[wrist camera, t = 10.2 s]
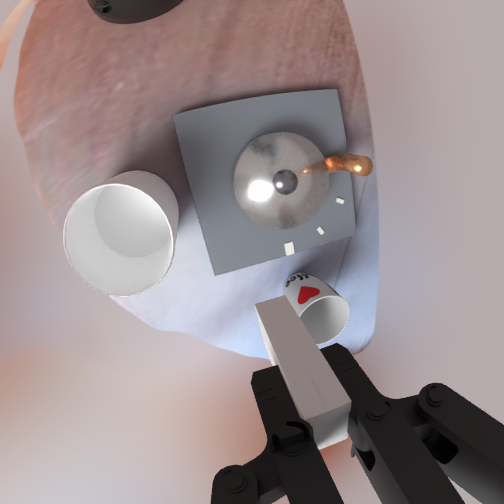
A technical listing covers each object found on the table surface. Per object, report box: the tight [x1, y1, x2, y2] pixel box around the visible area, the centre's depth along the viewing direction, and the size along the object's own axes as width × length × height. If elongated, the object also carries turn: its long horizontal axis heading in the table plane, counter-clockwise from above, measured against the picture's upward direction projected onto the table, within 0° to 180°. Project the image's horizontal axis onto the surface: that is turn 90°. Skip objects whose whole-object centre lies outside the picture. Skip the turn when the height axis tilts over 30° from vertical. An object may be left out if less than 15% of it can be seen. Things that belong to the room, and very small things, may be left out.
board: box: [172, 89, 356, 276], centre depth 36 cm, size 22×22×2 cm
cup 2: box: [283, 273, 350, 345], centre depth 40 cm, size 8×8×10 cm
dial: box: [231, 132, 373, 230], centre depth 32 cm, size 16×12×6 cm
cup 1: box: [63, 170, 179, 297], centre depth 30 cm, size 12×12×12 cm
